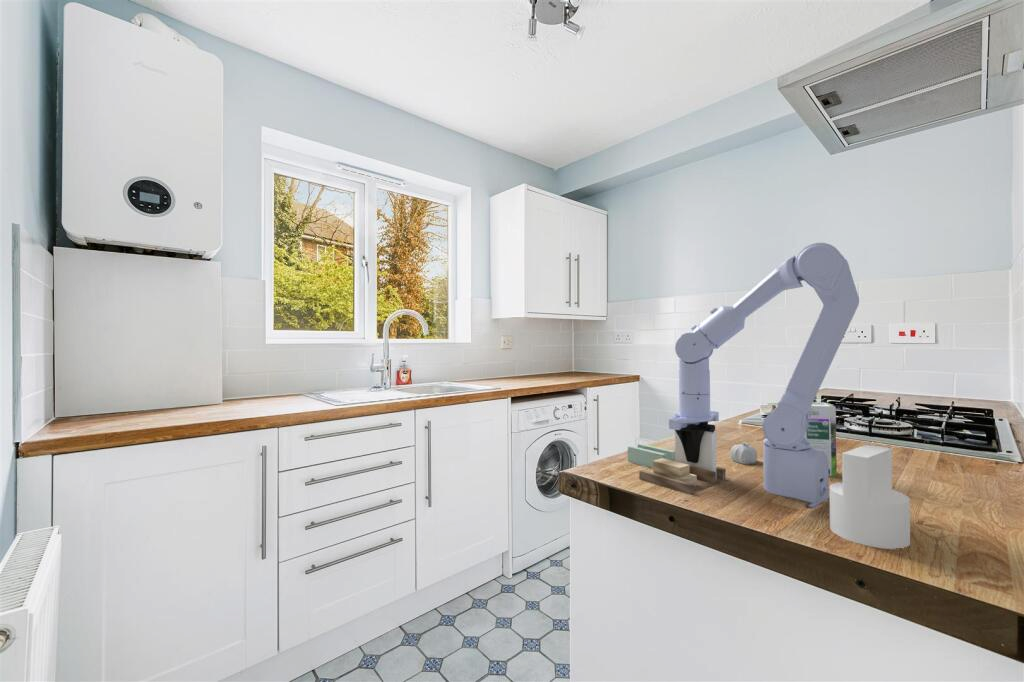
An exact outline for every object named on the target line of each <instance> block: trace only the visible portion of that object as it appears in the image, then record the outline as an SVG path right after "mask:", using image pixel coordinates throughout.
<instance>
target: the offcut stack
mask: <svg viewBox="0 0 1024 682" xmlns="http://www.w3.org/2000/svg"><path fill="white" fill-rule="evenodd" d="M652 471H653V472H652V473H655V474H659V475H662V476H666V477H669V478H673V479H677V480H680V481H684V482H687V483H691V484H694V486H695V485H697V475H694V474H690V465H688V464H684V463H680V462H676V461H672V460H667V459H663V458H661V459H657V460H654V461H653V468H652Z"/></svg>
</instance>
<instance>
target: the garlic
mask: <svg viewBox="0 0 1024 682" xmlns="http://www.w3.org/2000/svg"><path fill="white" fill-rule="evenodd" d="M729 455H730V458H731V460H732V461H733V462H735V463H738V464H742V465H747V464H749V465H751V464H752V465H753V464H756V463H757V460H758V450H757V448H755V446H752V445H750V443H748V442H746V441H743V442H742V443H739V444H734V445H733V446H732V447H731V448H730V452H729Z"/></svg>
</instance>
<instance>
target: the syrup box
mask: <svg viewBox="0 0 1024 682" xmlns="http://www.w3.org/2000/svg"><path fill="white" fill-rule="evenodd" d="M836 409H837V408H836V406H835V405H833V404H831V403H829V402H813V403H812V405H811V408H810V410H809V412H808V421H809V426H808V429H807V431H806V432H805V435H804V437H805V439H806V440H807V441H808V442H809V443H810V448H812V449H814V450H817V451H821V452H824V453H825V454H826V456H827V459H828V477H834V478H837V477H838V471H837V469H838V467H837V466H838V465H837V464H838V463H837V425H836V424H837V415H836V414H837V410H836Z"/></svg>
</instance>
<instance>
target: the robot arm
mask: <svg viewBox="0 0 1024 682" xmlns="http://www.w3.org/2000/svg"><path fill="white" fill-rule="evenodd" d="M802 281H804V282H805V283H807V285H808V286H810V287H811V288H813V289H814V291H815V293H816V295H817V296H818V298H819V299H820V301H821V303H822V304H823V305H822V308H821V311H820V313H819V315H818V317H817V319H816V321H815V324H814V326H813V328H812V330H811V332H810V335H809V337H808V340H807V341H806V344H805V346H804V349H803V351H802V352H801V355H800V357H799V358H798V362H797V364H796V366H795V368H794V370H793V373H792V374H791V378H790V380H789V382H788V383H787V386H786V387H785V391H784V393H783V394H782V396H781V398H780V400H779V401H778V404H777V406H776V407H775V408H774V409H772V411H770V413H769V414H767V415H766V416H765V417H764V419H763V421H762V426H761V428H762V433H763V436H764V437H765V438H764V439H763V440H762V449H763V450H762V451H763V453H762V456H763V465H762V467H763V470H762V471H763V489H764V491H766V492H768V493H769V494H773V495H777V496H780V497H787V498H791V499H796V500H801V501H804V502H809V503H808V504H806V505H805V507H808V508H815V507H817V506H819V505H820V504H822V503H823V502H825V501H827V500H828V499H830V487H829V476H828V459H827V456H826V454H825V453H824V452H821V451H817V450H814V449H812V448H810V443H809V442H808V441H807V440H806V439H805V437H804V435H805V432H806V431H807V429H808V426H809V421H808V412H809V410H810V408H811V405H812V403H814V401H815V400H816V399H815V398H816V396H817V394H818V392H819V390H820V388H821V386H822V384H823V382H824V379H825V377H826V376H827V374H828V372H829V369H830V367H831V364H832V362H833V360H834V359H835V356H836V355H837V352H838V350H839V348H840V346H841V344H842V342H843V339H844V337H845V335H846V334H847V333H846V332H847V331H848V328H849V326H850V324H851V322H852V321H853V320H852V319H853V318H854V315H855V313H856V312H857V309H858V307H859V304H860V297H859V293H858V290H857V287H856V285H855V281H854V278H853V275H852V272H851V268H850V264H849V262H848V260H847V259H846V258H845V257H844V255H843V254H842V253H841V252H840V251H839V249H837V248H836V247H835V246H833V245H832V244H831V243H830V244H829V243H826V242H815V243H811V244H808V245H807V246H805V247H803V248H802V249H801V250H800V251H799V252H798V254H797V255H796V256H795V255H793V256H791V257H788V258H787V259H786V260H784V261H783V262H782V263H781V264H780V265H779V266H777V267H776V268H774V270H773V271H772V272H770V273H769V274H768V275H766V276H765V277H764V278H763V279H762V280H761V281H760V282H758V283H757V284H756V285H755V286H754V287H753V288H752V289H751V290H749V291H748V292H747V293H746V294H745V295H744V296H743V297H742V298H740V299H739V300H737V302H736V303H734V304H733V305H721V306H720V307H718V308H717V307H714V308H712V309H711V310H710V312H709V313H710V314H711V315H709V316H708V317H707V318H705V319H704V320H703V321H702V322H701V323H699V324H698V325H693V326H692V327H691V329H690V330H691V331H692V332H685V333H682V334H681V335H680V337H679V338H678V339H677V341H675V342H676V343H675V346H674V347H675V348H674V349H675V350H674V351H675V354H676V356H677V357H678V358H679V359H678V361H679V363H678V365H679V369H678V381H679V382H678V391H679V392H678V395H679V397H678V399H679V402H678V403H679V406H678V407H679V408H678V409H679V412H675V413H674V416H673V417H671V418H668V429H670V430H674V432H675V431H676V433H677V434H678V436H679V438H680V440H681V443H682V445H683V449H684V452H685V456H686V460H687V461H688V462H693V463H698V460H699V453H700V444H701V440H702V437H703V434H704V432H705V431H708V432H714V433H715V431H716V425H714V424H710V423H711V422H719V421H720V418H719V416H720V414H719V413H720V412H719V411H714V410H711V373H710V371H711V370H710V358H711V356H712V355H713V352H714V349H715V350H717V349H719V348H720V347H722V346H723V345H724V344H725V343H726V342H728V341H729V340H731V339H732V338H733V337H734V336H736V335H737V334H738V333H739V332H741V331H742V330H744V329H745V322H746V318H748V317H749V316H750V315H751V314H753V313H754V312H756V311H757V310H758V309H760V308H761V307H763V306H764V305H766V304H767V303H768V302H770V301H771V300H772V299H774V298H775V297H777V296H778V295H779V294H781V293H782V292H784V291H787V290H793V289H798V288H803V287H804V286H803V284H802Z"/></svg>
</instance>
